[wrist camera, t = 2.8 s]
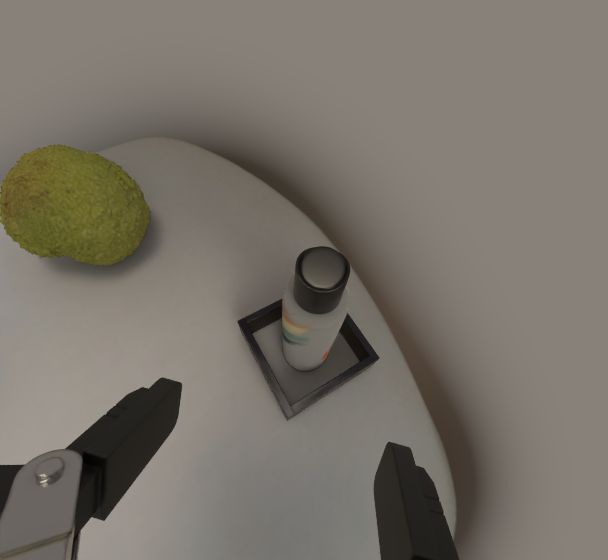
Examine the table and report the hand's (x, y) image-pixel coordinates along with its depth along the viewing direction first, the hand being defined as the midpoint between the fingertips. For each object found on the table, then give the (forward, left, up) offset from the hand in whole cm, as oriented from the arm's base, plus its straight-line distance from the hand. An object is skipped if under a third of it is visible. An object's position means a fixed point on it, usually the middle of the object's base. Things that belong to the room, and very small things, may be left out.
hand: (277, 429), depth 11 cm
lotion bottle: (+8, -8, -25) cm, 27 cm away
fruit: (+37, +9, -25) cm, 45 cm away
